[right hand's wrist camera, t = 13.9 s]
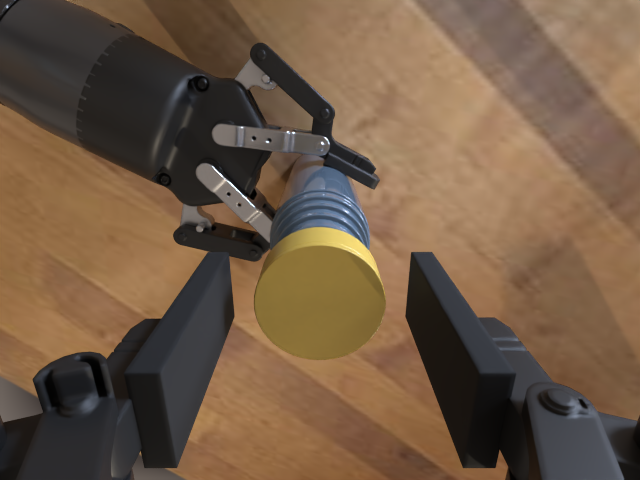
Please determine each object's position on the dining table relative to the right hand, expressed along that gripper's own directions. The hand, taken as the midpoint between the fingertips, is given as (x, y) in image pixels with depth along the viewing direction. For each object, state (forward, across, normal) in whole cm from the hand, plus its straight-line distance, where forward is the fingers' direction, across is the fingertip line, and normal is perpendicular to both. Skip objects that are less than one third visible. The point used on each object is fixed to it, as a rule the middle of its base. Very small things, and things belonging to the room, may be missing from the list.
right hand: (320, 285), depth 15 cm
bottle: (+19, 0, 0) cm, 19 cm away
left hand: (+12, -2, +1) cm, 12 cm away
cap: (-1, 0, 0) cm, 1 cm away
